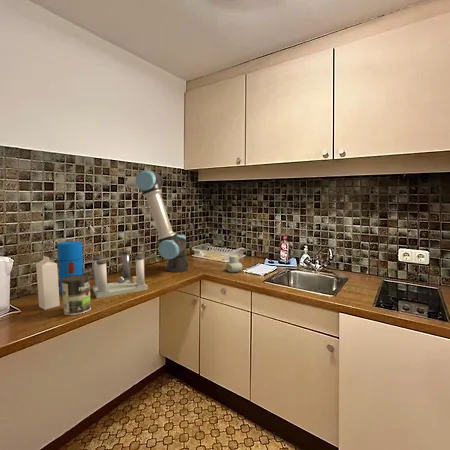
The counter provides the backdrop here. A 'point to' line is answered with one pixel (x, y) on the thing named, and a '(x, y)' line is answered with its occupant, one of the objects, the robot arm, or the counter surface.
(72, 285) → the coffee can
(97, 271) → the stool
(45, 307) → the milk
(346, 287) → the counter surface
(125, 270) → the folding leg
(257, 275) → the counter surface
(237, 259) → the pipe tee fitting
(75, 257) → the thermos
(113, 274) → the counter surface
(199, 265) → the counter surface
